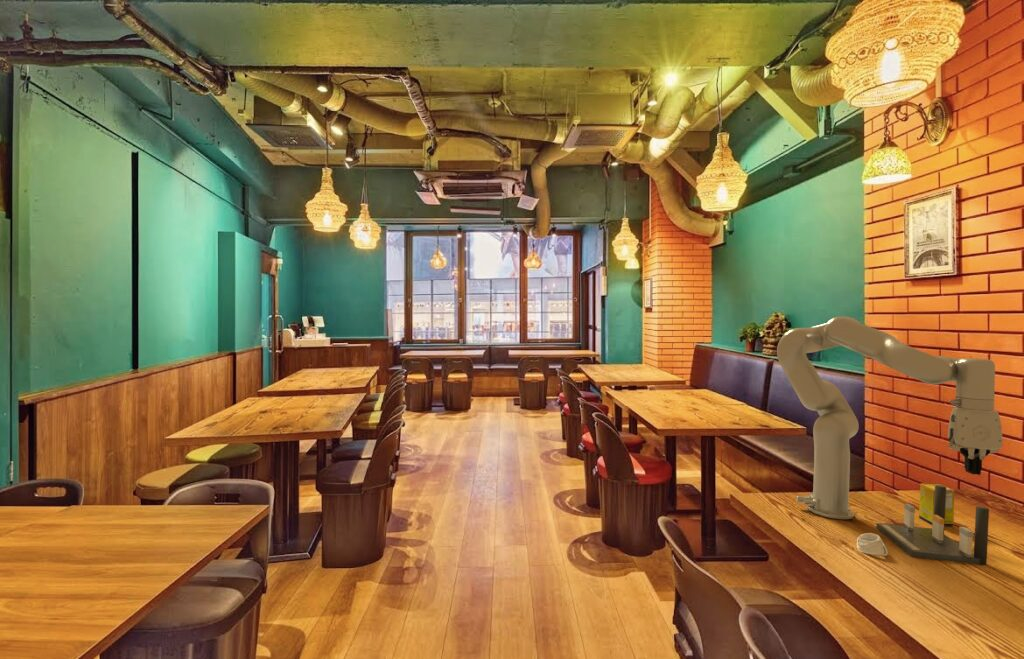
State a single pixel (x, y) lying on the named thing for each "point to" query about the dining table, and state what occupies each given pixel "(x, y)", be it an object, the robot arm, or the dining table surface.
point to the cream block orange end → (937, 527)
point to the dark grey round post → (980, 523)
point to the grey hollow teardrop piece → (871, 544)
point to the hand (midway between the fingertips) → (972, 473)
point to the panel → (925, 544)
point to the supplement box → (928, 504)
